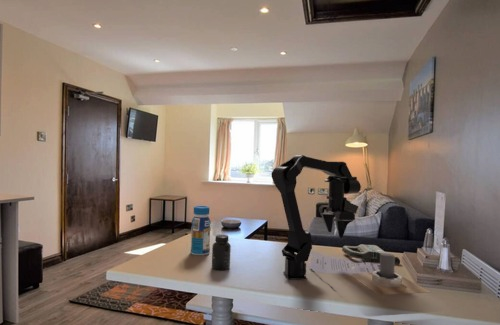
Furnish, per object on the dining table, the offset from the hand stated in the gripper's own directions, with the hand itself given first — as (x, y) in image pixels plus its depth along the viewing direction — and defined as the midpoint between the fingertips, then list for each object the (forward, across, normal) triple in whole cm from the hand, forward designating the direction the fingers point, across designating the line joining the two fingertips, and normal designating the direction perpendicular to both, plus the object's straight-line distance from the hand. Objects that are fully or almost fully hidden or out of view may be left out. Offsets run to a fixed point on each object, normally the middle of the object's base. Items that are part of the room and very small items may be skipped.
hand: (335, 234), depth 119 cm
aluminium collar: (+12, -18, -10) cm, 24 cm away
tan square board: (+13, -18, -10) cm, 24 cm away
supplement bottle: (+13, +5, +43) cm, 45 cm away
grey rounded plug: (+12, -18, -10) cm, 24 cm away
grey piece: (+14, +10, -21) cm, 27 cm away
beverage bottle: (+13, +25, +50) cm, 57 cm away
